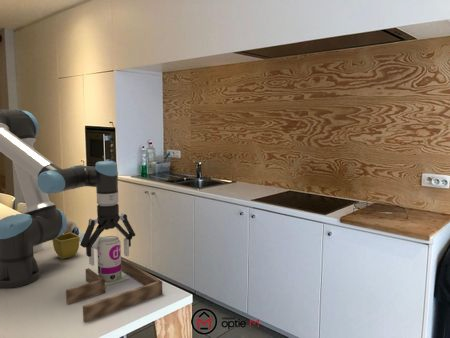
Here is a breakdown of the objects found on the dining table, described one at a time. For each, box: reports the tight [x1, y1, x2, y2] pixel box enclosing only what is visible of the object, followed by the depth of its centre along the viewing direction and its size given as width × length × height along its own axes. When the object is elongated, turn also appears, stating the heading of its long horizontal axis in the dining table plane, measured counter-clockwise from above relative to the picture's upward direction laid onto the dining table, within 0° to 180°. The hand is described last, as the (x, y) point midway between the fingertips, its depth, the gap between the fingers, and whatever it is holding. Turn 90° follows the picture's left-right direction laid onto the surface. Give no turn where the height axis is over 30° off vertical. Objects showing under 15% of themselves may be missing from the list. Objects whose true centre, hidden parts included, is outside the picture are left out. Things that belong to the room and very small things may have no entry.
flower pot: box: [51, 232, 81, 260], centre depth 159 cm, size 9×9×9 cm
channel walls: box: [65, 258, 163, 323], centre depth 126 cm, size 27×28×4 cm
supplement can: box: [96, 235, 123, 282], centre depth 136 cm, size 8×8×15 cm
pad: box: [105, 272, 130, 287], centre depth 137 cm, size 10×9×1 cm
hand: (109, 259), depth 136 cm, fingers open, 13 cm apart
